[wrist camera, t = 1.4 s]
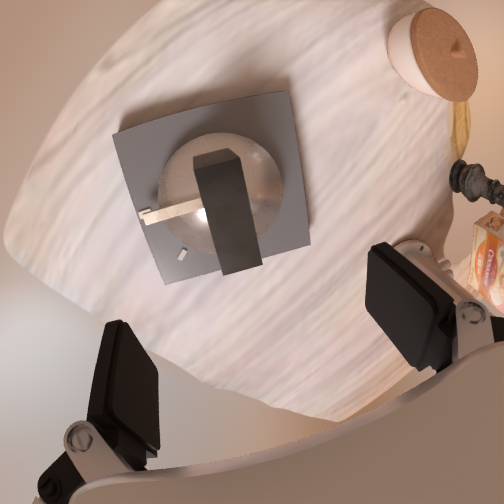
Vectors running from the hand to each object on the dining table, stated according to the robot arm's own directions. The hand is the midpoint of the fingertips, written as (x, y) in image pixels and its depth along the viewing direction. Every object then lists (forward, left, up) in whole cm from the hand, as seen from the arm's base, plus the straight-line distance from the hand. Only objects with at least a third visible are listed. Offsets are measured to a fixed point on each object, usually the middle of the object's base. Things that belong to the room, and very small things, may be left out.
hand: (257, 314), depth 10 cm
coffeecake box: (-46, +21, -20) cm, 55 cm away
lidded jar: (-25, -12, -20) cm, 34 cm away
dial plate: (0, 0, -19) cm, 19 cm away
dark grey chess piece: (-35, +5, -20) cm, 41 cm away
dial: (0, 0, -17) cm, 17 cm away
